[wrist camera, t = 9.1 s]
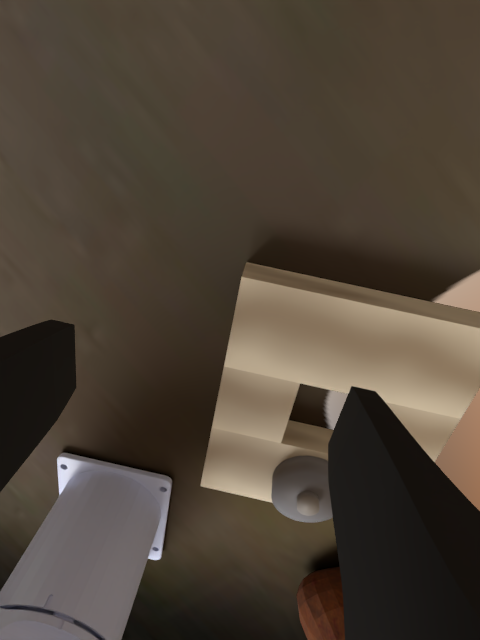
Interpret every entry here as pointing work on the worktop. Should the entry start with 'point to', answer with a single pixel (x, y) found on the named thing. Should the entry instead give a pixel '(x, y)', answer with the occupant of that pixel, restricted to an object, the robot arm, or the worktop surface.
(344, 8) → the worktop surface
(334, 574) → the potato
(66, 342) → the robot arm
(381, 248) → the worktop surface
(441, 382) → the plate
